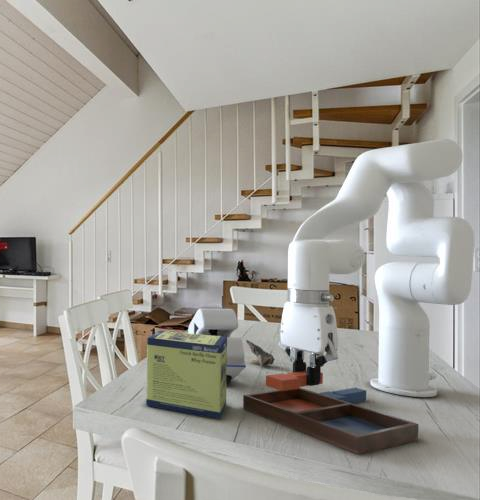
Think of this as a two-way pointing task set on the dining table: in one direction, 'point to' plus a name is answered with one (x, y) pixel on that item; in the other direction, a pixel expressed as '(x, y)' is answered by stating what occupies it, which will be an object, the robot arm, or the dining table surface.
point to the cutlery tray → (332, 419)
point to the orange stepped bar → (289, 380)
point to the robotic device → (221, 325)
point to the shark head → (260, 355)
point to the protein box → (187, 373)
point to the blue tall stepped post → (348, 395)
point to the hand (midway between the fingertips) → (306, 382)
